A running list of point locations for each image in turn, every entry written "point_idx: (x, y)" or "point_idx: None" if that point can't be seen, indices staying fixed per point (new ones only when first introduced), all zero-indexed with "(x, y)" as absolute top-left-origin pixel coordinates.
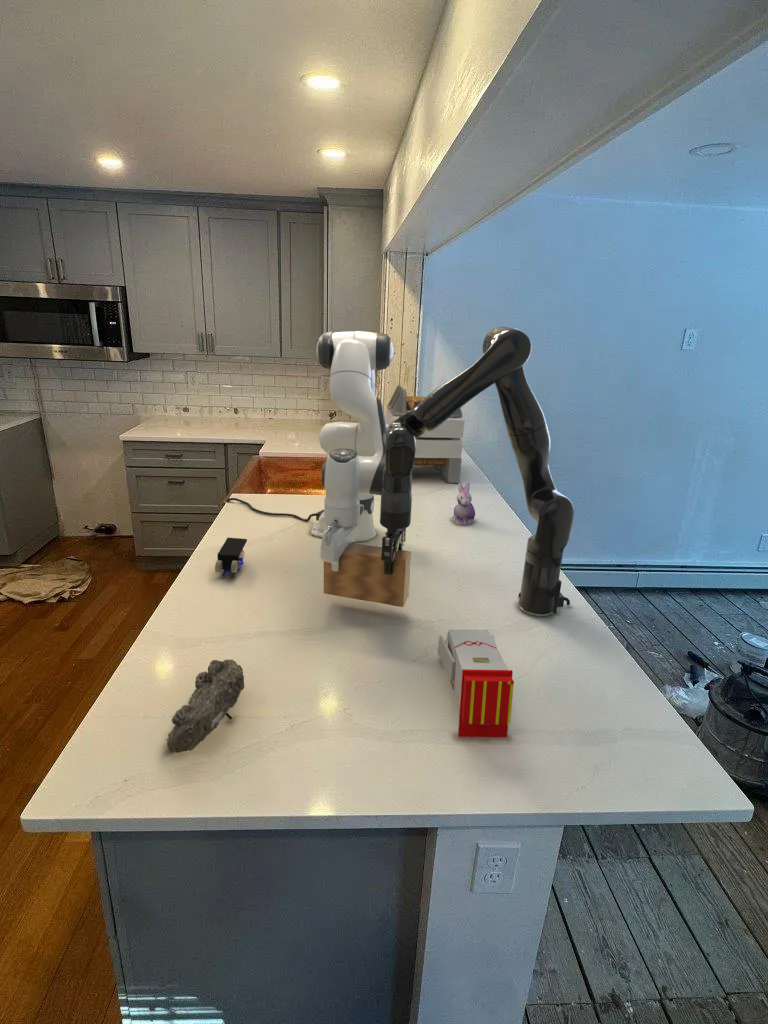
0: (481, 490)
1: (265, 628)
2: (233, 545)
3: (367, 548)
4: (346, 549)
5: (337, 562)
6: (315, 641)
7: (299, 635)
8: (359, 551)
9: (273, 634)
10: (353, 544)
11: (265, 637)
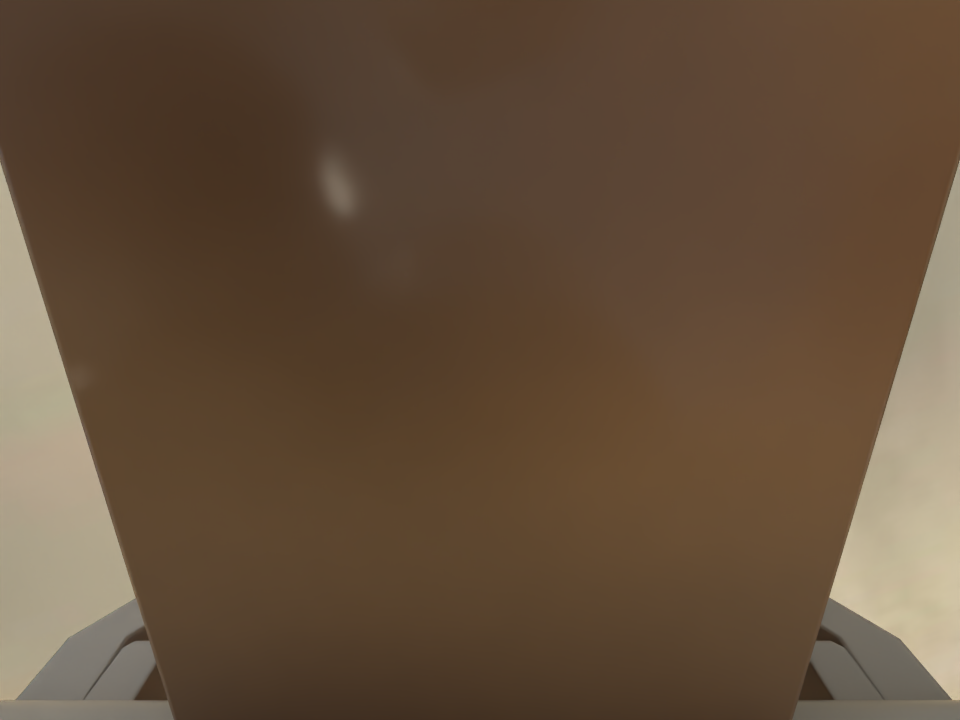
0: None
1: (838, 588)
2: None
3: (356, 183)
4: (665, 715)
5: (842, 610)
6: (950, 322)
7: (890, 424)
8: (733, 377)
9: (891, 538)
10: (265, 666)
11: (923, 559)
